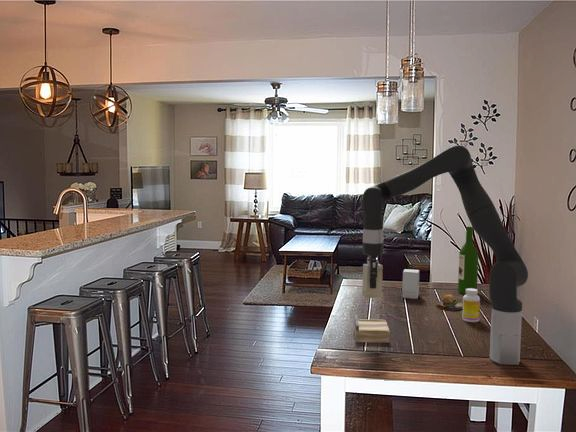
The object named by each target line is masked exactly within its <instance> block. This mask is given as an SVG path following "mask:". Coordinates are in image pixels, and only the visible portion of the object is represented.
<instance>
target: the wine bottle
mask: <svg viewBox="0 0 576 432" xmlns="http://www.w3.org/2000/svg"><path fill="white" fill-rule="evenodd" d="M473 233H474V229H473V227H472V226H467V227H466V232H465V243H464V244H463V246H462V247H461V248H460V250H459V254H458V274H457V275H458V276H457V277H458V281H457V282H458V283H457V292H458V293H459V294H462V295H466V289H467V288H473V289H477V290H478V277H479V276H478V274H479V273H478V271H479V270H478V269H479V252H478V251H479V250H477V247H476V246H475V245H474V243H473V242H474V241H473V237H474V236H473Z"/></svg>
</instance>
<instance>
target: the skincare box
mask: <svg viewBox="0 0 576 432" xmlns="http://www.w3.org/2000/svg"><path fill="white" fill-rule="evenodd" d="M383 266H384V265H383V264H380V263H378V272H377V278H376V288H375V289H371V288H370V277H369V276H370V272H369V267H370V266H368V263H363V264H362V293H361V294H362V296H361V297H364V298H365V299H379V298H380V299H382V297H383V271H384V270H383V268H384V267H383ZM372 274H375V272H372Z"/></svg>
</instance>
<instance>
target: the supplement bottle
mask: <svg viewBox="0 0 576 432" xmlns="http://www.w3.org/2000/svg"><path fill="white" fill-rule="evenodd" d="M478 294H479V290H478V288H477V289H473V288H467V289H466V294H463V296H462V303H463V310H462V314H461V315H462V316H461V318H462V320H463V321H464V322H467V323H478V322H479V321H480V313H481V312H480V309H481V305H480V304H481V298H480V296H479V295H478Z"/></svg>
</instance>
